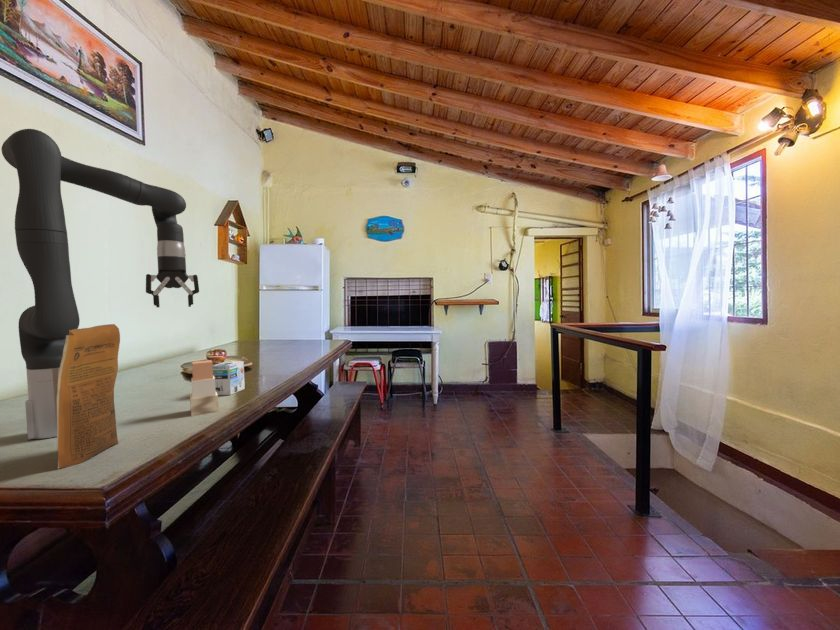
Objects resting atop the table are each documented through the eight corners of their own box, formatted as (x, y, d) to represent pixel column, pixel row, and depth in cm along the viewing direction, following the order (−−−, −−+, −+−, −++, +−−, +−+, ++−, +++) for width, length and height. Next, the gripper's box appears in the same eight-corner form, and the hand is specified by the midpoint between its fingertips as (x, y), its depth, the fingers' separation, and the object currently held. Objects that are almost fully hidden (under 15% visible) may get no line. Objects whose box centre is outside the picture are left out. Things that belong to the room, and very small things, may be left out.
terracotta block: (193, 380, 110) (192, 363, 110) (192, 378, 114) (192, 361, 114) (213, 378, 113) (212, 361, 112) (211, 376, 117) (210, 360, 117)
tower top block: (192, 398, 109) (191, 381, 109) (192, 394, 115) (191, 378, 114) (215, 395, 113) (214, 378, 112) (214, 391, 118) (213, 375, 117)
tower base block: (191, 416, 109) (190, 399, 109) (190, 410, 115) (189, 394, 114) (218, 411, 113) (218, 395, 112) (216, 406, 118) (215, 390, 118)
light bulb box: (230, 395, 132) (229, 365, 132) (212, 396, 133) (210, 365, 132) (245, 388, 143) (244, 360, 143) (228, 388, 143) (226, 360, 143)
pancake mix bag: (137, 436, 93) (131, 323, 92) (77, 470, 74) (68, 328, 73) (107, 438, 92) (101, 324, 91) (38, 473, 73) (29, 329, 72)
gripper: (142, 254, 113) (145, 307, 114) (197, 255, 121) (200, 306, 121) (145, 256, 120) (148, 307, 120) (197, 258, 127) (199, 306, 128)
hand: (174, 307), depth 121 cm, fingers open, 8 cm apart
